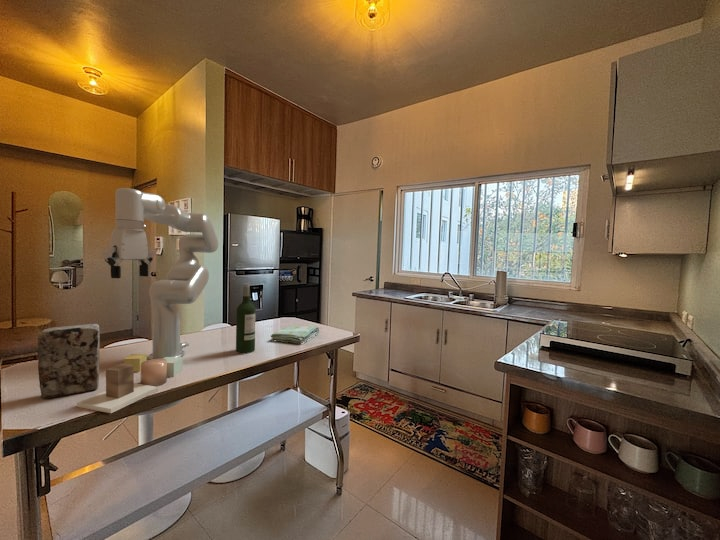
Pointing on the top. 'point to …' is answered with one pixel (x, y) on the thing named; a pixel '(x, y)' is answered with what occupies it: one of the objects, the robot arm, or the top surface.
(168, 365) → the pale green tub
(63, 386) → the stone block
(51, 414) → the top surface
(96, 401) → the cream board
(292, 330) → the towel
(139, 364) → the mustard cube
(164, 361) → the peach rounded cube
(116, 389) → the walnut block
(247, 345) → the wine bottle
